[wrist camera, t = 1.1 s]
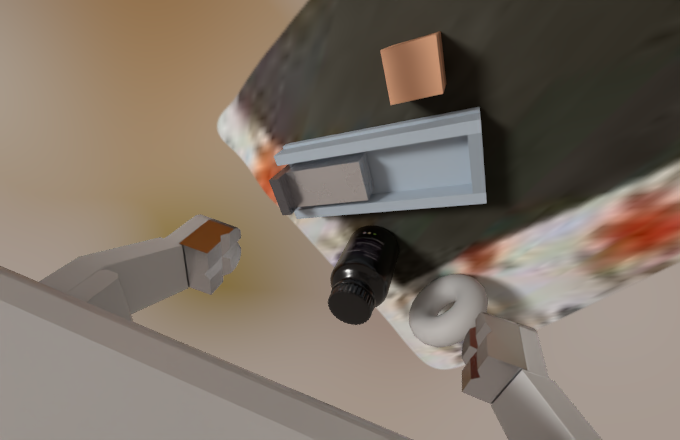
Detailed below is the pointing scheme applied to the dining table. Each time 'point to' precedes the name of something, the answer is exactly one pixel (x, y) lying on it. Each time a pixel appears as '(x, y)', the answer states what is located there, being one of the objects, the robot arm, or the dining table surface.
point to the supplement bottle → (363, 274)
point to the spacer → (414, 68)
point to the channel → (405, 163)
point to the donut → (457, 318)
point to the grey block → (323, 182)
